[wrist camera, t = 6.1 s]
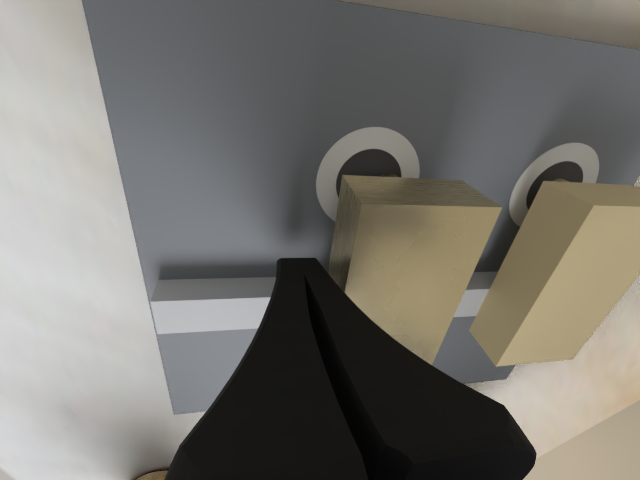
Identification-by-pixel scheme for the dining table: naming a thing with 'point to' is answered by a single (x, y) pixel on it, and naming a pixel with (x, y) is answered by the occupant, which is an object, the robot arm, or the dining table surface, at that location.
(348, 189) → the block
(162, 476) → the sprinkles bottle
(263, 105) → the bolt plate
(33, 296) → the dining table surface
